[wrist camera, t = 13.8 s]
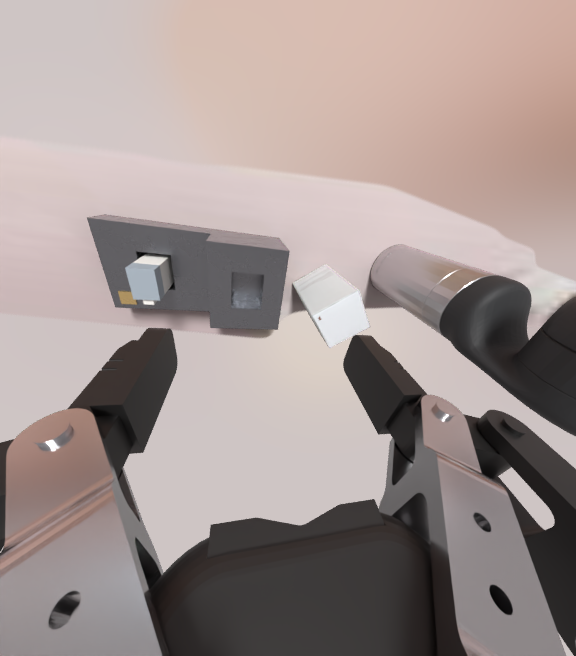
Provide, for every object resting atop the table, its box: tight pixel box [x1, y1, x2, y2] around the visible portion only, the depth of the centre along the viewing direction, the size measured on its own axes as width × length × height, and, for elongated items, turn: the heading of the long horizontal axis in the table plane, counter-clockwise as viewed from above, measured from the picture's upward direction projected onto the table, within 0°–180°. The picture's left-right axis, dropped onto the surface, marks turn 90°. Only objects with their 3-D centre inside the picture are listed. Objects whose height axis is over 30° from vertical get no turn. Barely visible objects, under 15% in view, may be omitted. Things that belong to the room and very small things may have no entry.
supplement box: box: [293, 264, 370, 348], centre depth 35 cm, size 7×7×13 cm
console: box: [87, 215, 289, 330], centre depth 30 cm, size 24×12×9 cm, turn 81°
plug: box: [125, 253, 174, 305], centre depth 29 cm, size 3×5×8 cm, turn 171°
